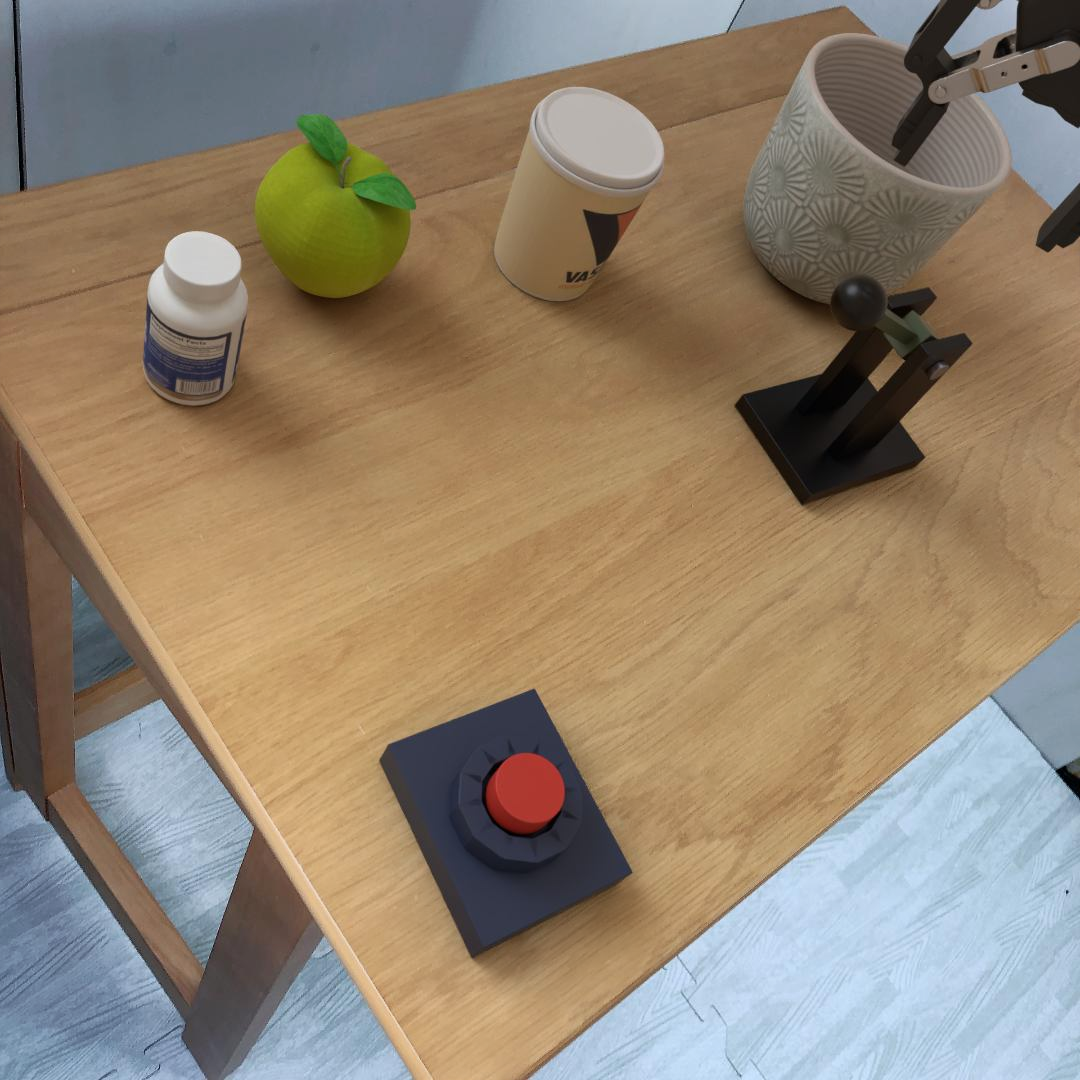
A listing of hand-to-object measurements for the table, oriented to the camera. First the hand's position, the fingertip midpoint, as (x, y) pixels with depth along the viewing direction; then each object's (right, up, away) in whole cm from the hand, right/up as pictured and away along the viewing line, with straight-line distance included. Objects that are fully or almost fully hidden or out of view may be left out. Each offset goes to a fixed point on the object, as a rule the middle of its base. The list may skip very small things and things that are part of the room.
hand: (972, 199), depth 59 cm
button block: (-24, -32, +1) cm, 41 cm away
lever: (-2, -5, +13) cm, 14 cm away
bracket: (-1, -10, +25) cm, 27 cm away
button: (-23, -30, -2) cm, 38 cm away
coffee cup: (-22, +3, +25) cm, 34 cm away
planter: (0, +5, +36) cm, 36 cm away
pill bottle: (-43, -8, +10) cm, 45 cm away
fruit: (-37, 0, +18) cm, 41 cm away
